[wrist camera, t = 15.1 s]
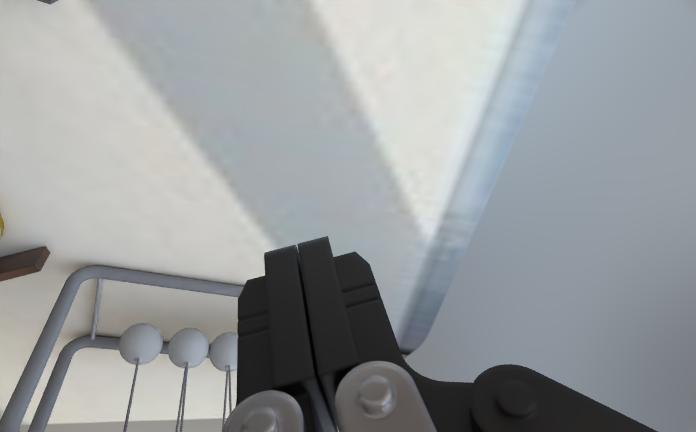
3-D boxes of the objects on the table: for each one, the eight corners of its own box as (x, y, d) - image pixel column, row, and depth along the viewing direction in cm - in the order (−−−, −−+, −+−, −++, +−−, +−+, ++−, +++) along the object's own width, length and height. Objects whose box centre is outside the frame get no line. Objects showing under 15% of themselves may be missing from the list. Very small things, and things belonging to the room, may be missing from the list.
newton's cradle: (67, 338, 45) (-15, 540, 31) (74, 259, 40) (-19, 455, 26) (342, 364, 56) (376, 523, 41) (374, 303, 51) (427, 460, 37)
